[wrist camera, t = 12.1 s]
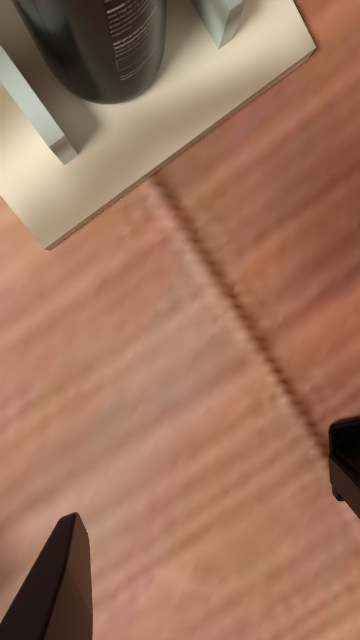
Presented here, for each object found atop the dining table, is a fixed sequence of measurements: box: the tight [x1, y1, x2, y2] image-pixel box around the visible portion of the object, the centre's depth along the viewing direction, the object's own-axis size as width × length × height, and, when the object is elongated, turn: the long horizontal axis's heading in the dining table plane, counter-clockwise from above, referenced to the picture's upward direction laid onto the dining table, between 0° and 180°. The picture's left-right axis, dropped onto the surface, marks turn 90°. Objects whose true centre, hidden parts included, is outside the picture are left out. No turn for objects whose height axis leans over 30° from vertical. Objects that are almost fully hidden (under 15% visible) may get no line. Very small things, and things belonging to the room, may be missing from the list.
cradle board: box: [0, 0, 316, 250], centre depth 15 cm, size 14×20×4 cm
